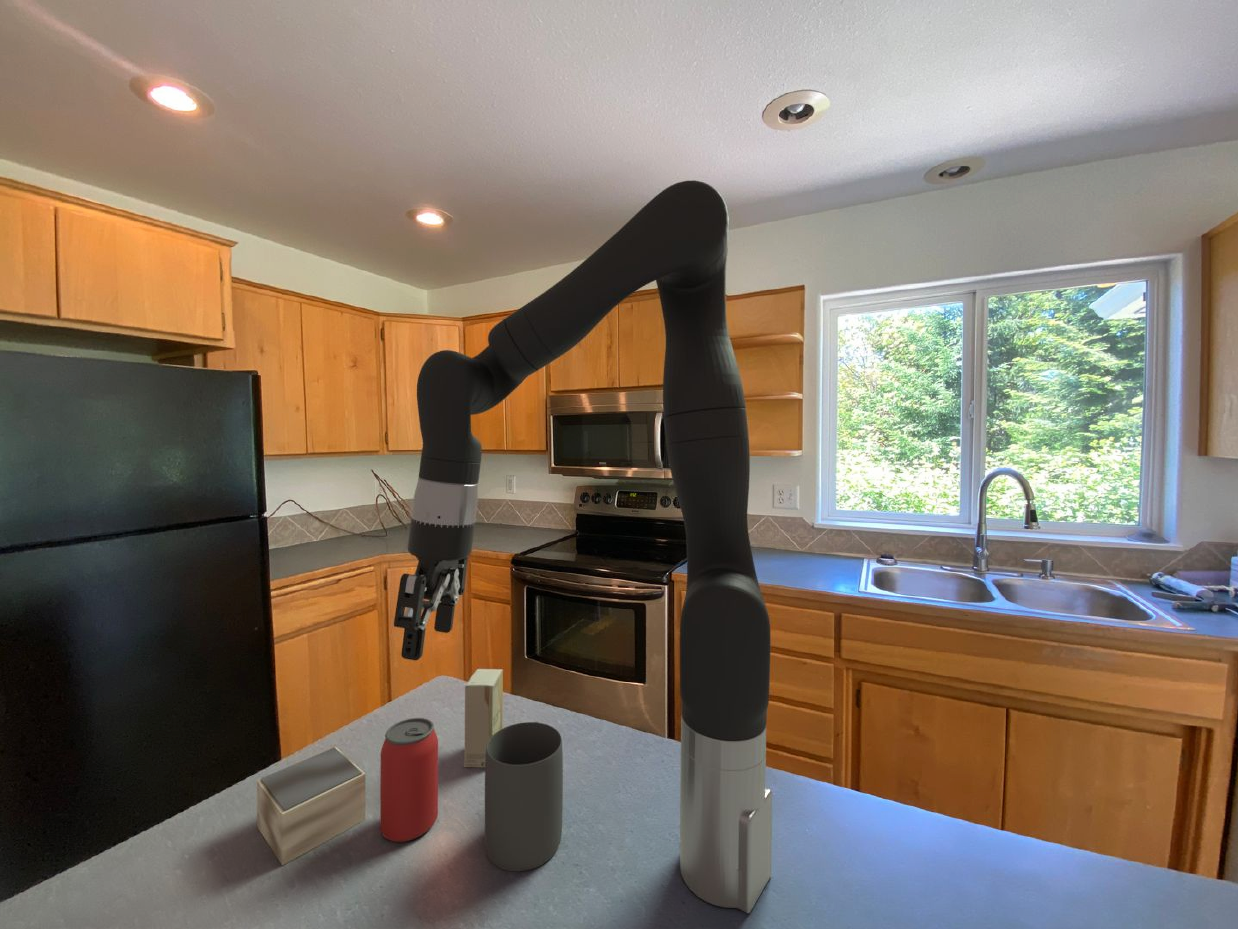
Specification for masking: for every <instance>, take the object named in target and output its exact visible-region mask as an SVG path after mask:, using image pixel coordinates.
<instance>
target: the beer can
mask: <svg viewBox="0 0 1238 929" xmlns="http://www.w3.org/2000/svg"><path fill="white" fill-rule="evenodd" d="M434 727H435V725H434V722H433V721H431V720H430V719H428V718H426V717H425V718H424V717H413V718H411V717H410V718H407V719H403V720H400V721H399V722H396V723H395V724H392V725H391V726H390V727H389V728H388V729H387V730H386V732H385V734H384V737H385V739H384V741H383V744H382V747H381V750H380V768H379V770H380V776H379V777H380V779H379V780H380V797H379V798H380V803H379V804H380V807H379V808H380V809H379V810H380V812H379V813H380V814H379V815H380V819H379V820H380V823H379V824H380V825H379V826H380V832H381V835H382V836H383V837H384V838H385V839H387V840H389V841H391V842H394V843H396V842H397V843H398V842H399V843H404V842H409V841H412V840H414V839H418V838H420V837H421V836H423V835H424V834H425V833H427V832H428V831H429V830H430V829H432V827H434V824H435V822H436V821H437V819H438V814H439V739H438V735H437V734H436V731H435V729H434Z"/></svg>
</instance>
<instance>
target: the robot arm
mask: <svg viewBox="0 0 1238 929" xmlns="http://www.w3.org/2000/svg"><path fill="white" fill-rule="evenodd" d="M729 219H730V218H729V213H728V207H727V204H726V202H725V200H724V197H723V195H721V193H720V192H719V191H718V190H717V189H716V188H715V187H713V186H712V185H711V184H709V183H706V182H703V181H699V180H683V181H679V182H676V183H674V184H671V185H669V186H668V187H666V188H664V189H663V190H662V191H661V192H659V193H658V194H657V195H655V196H654V197H653V198H652V199H650V200H649V202H647V203H646V204H645V205H644V206H643V207H642V208H640V210H639V211H637V212H636V214H634V215H633V216H632V217H631V218H630V220H628V221H627V222H626V223H625V224H624V225H623V226H622V227H621V228H620V229H619V230H618V231H617V232H615V234H613V235H612V236H611V237H610V238H609V239H607V240H606V241H605V242H604V243H603V244H602V245H601V246H600V247H599V248H597V249H596V250H595V251H594V252H592V254H591V255H590V256H589V257H588V258H586V259H585V260H584V261H583V262H582V263H580V264H579V265H578V266H577V267H575V268H574V269H573V270H572V271H571V272H569V273H568V274H566V276H563V278H562V279H560V280H559V281H558V282H556V283H555V284H553V285H552V286H551V287H550V288H547V289H546V290H545V291H544V292H543V293H541V294H540V295H538V296H537V297H535V298H534V299H532V300H530V301H529V302H527V303H526V304H524V305H523V306H521V307H520V308H518V309H517V310H516V311H514V312H512V313H511V314H509V315H508V316H507V317H505V318H504V319H502V320H501V321H499V322H498V323H497V324H495V325H494V326H493V327H492V328H491V329H490V331H489V333H488V335H487V341H488V342H487V343H488V345H487V346H486V348H484V349H483V350H482V351H481V352H479V353H478V354H476V355H475V356H473V357H470V356H468V355H466V354H463V353H462V352H458V351H455V350H450V349H449V350H447V349H444V350H439V351H437V352H435V353H433V354H431V355H430V356H428V358H427V359H426V360H425V361H424V363H423V365H422V366H421V369H420V370H419V374H418V377H417V383H416V403H417V412H418V420H419V429H420V432H421V438H422V448H421V453H420V454H421V457H420V462H419V470H418V478H417V483H416V486H415V490H414V495H413V500H412V508H411V509H412V510H411V517H410V523H409V524H410V526H409V533H408V534H409V535H408V542H407V552H408V553H409V554H410V555H411V556H413V557H416V559H417V560H418V562H417V565H416V570H415V572H414V573H413V574H411V573H410V574H409V573H406V572H405V573H403V574H402V575H401V577H400V582H399V587H398V593H397V594H398V595H397V600H396V601H397V602H396V607H395V613H394V620H393V627H395V628H399V629H401V628H402V629H403V630H404V631H403V639H402V646H401V658H402V659H404V660H409V661H414V662H415V661H419V659H420V658H422V656H423V655H424V654H423V652H424V644H425V636H426V628H427V627H426V626H427V624H428V621H429V618H430V617H431V613H432V612H435V611H436V612H435V620H434V626H433V628H434V631H436V632H438V633H439V632H440V633H444V634H445V633H446V634H448V633H450V632H451V631H452V629H453V625H454V617H455V610H456V604H457V603H458V601H459V599H460V596H463V595H464V593H465V588H466V581H467V580H466V577H467V569H468V559H469V556H470V555H471V554H472V550H473V542H474V536H475V528H476V527H475V526H476V518H477V513H478V512H477V511H478V503H479V494H478V493H479V488H478V487H479V484H478V483H479V479H480V470H481V462H482V455H483V454H482V449H483V448H482V442H481V441H480V440H479V439H478V438H477V437H476V436H474V435H473V433H472V420H471V416H474V415H475V416H476V415H479V414H483V413H485V412H487V411H490V410H491V409H493V408H494V407H496V406H498V405H499V404H500V403H502V402H503V401H504V400H505V399H506V398H507V397H508V396H510V395H511V394H512V393H513V392H514V391H515V390H516V389H517V388H518V387H519V386H520V385H521V384H522V383H523V381H525V379H526V378H528V377H530V376H531V375H532V374H534V373H537V372H538V371H539V370H542V368H544V367H546V366H547V365H549V364H551V363H553V362H554V361H555V360H556V359H558V358H560V357H561V356H563V355H565V354H566V353H567V352H569V351H570V350H572V349H573V348H574V347H576V346H577V345H578V344H579V343H580V342H582V340H583V339H585V338H586V337H587V336H588V335H589V334H590V333H591V331H593V330H594V329H595V328H596V326H597V325H599V323H600V322H601V321H602V320H603V319H604V318H605V317H606V316H608V314H610V312H611V311H612V310H613V309H614V308H616V307H617V306H618V305H619V304H620V303H622V302H623V301H624V300H625V299H627V298H628V297H630V296H631V295H632V294H634V293H635V292H637V291H638V290H640V289H642V288H644V287H645V286H647V285H649V284H650V283H653V282H655V283H656V286H657V287H656V288H657V289H658V290H657V291H658V296H659V302H660V306H661V311H662V318H663V322H664V331H665V332H664V333H665V349H664V350H665V353H664V364H663V376H662V413H663V423H664V424H663V425H664V434H665V435H664V436H665V444H666V445H665V447H666V452H667V453H666V454H667V458H668V464H669V470H670V474H671V479H672V481H673V482H672V483H673V486H674V491H675V494H676V497H677V500H678V504H679V507H680V508H679V509H680V510H681V515H682V518H683V519H682V520H683V524H684V529H685V538H686V539H685V540H686V590H685V596H684V599H683V600H684V601H683V604H682V608H681V613H680V620H679V629H680V630H679V694H680V695H679V696H680V702H681V703H680V704H681V705H680V708H681V713H680V714H681V715H680V718H681V719H680V720H681V721H680V793H679V796H680V800H679V803H680V804H679V839H680V840H679V869H680V875H681V877H682V879H683V881H684V884H686V886H687V887H688V889H689V890H690V892H691V891H692V893H693V894H695V896H696V897H698V898H700V899H702V900H703V901H704V902H706V903H709V904H711V905H713V906H716V907H721V908H731V909H733V908H735V909H739V910H740V911H743V912H744V913H746V914H750V913H751V911H752V909H753V907H754V906H755V904H756V903H757V901H758V899H759V898H760V895H761V894H762V893H763V891H764V889H765V888H766V885H767V884H768V882H769V880H770V879H771V877H772V859H773V858H772V853H773V851H772V849H773V848H772V845H773V791H772V790H771V789H770V788H768V787H766V781H767V780H766V773H767V771H766V770H767V769H766V768H767V766H766V765H767V761H766V760H767V712H768V708H769V702H770V683H771V682H770V679H771V678H770V677H771V642H772V641H771V638H772V637H771V636H772V635H771V622H770V615H769V611H768V609H767V606H766V602H765V599H764V596H763V593H762V590H761V587H760V584H759V580H758V576H757V571H756V567H755V562H754V558H753V557H754V556H753V552H752V546H751V540H750V534H749V526H748V525H749V524H748V506H749V494H750V493H749V492H750V472H751V471H750V469H751V468H750V467H751V466H750V463H751V462H750V461H751V460H750V459H751V456H750V439H749V438H750V437H749V427H748V419H747V407H746V406H747V405H746V401H745V395H744V388H743V384H742V379H741V375H740V370H739V365H738V363H737V362H738V361H737V359H736V358H737V357H736V356H735V352H734V348H733V345H732V341H731V338H730V334H729V328H728V319H727V298H726V297H727V295H726V294H727V293H726V292H727V291H726V289H727V288H726V284H727V283H726V281H727V280H726V279H727V278H726V276H727V260H728V259H727V258H728V251H729V236H730V235H729V233H730V231H729V230H730V229H729V228H730V227H729V226H730V225H729V224H730V220H729Z"/></svg>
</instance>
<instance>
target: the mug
mask: <svg viewBox="0 0 1238 929" xmlns="http://www.w3.org/2000/svg"><path fill="white" fill-rule="evenodd" d="M563 752H564V750H563V740H562V736H561V733H560V732H559V731H558V730H557V729H556V728H555V727H553V726H551V725H549V724H546V723H541V722H538V721H534V722H533V721H530V722H529V721H527V722H525V721H524V722H518V723H514V724H510V725H507V726H505V727H502V729H501V730H499V731H498V732H496V733H495V734H494V735H493V736H492V737H491V738H490V739H489V741H488V743H487V747H486V759H485V767H484V770H485V771H484V838H485V840H484V841H485V850H486V854H487V856H488V858H489V860H490V862H492V863H493V864H494V865H495V866H497V867H498V868H500V869H502V870H505V871H509V872H524V871H525V872H526V871H530V870H533V869H535V868H538V867H540V866H542V865H543V864H545V863H546V862H548V861H549V860H550V859H551V858H553V856H554V855H555V854H556V853H557V851H558V849H559V846H560V844H561V840H562V832H563V810H564V809H563V807H564V806H563V805H564V804H563V802H564V801H563V798H564V796H563V795H564V794H563V793H564V780H563V779H564V775H563V774H564V773H563V772H564V764H563V763H564V762H563V761H564V760H563V759H564V757H563V755H564V754H563Z"/></svg>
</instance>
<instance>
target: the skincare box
mask: <svg viewBox="0 0 1238 929" xmlns="http://www.w3.org/2000/svg"><path fill="white" fill-rule="evenodd" d="M503 676H504V669H500V668H498V669H496V668H494V669H493V668H478V669H476V670H475V672H474V673H473V674H472V675H471V676H470V678H469V679H468V681H467V683H466V684H465V685H464V763H463V767H464V768H485V759H486V747H487V743H488V741H489V739H490V738H491V737H492V736H493V735H494V734H495V733H496V732H498V731H499V730H501V729H503V690H504V688H503V685H504V682H503V681H504V680H503V679H504V677H503Z"/></svg>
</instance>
